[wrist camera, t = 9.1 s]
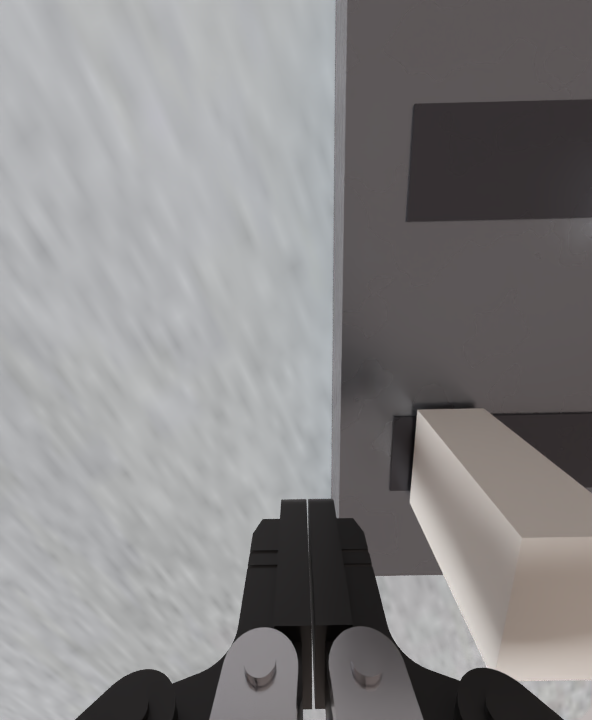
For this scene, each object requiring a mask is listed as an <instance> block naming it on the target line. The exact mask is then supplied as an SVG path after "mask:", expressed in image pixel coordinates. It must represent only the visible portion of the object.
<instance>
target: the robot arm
mask: <svg viewBox="0 0 592 720" xmlns="http://www.w3.org/2000/svg"><path fill="white" fill-rule="evenodd" d="M308 538H309V552H308ZM309 575H310V576H309ZM311 622H312V623H311ZM312 646H313V670H314V693H315V709H325V710H326V720H563V719H562V718H561V717H560V716H559V715H557V714H556V713H555V712H554V711H553V710H551V709H550V708H549V707H548V706H547V705H545V704H544V703H543V702H542V701H541V700H539V699H538V698H537V697H536V696H535V695H533V694H532V693H531V692H530V691H529V690H527V689H526V688H525V687H524V686H523V685H521V684H520V683H519V682H517V681H516V680H515V679H513V678H512V677H510V676H508V675H507V674H504V673H502V672H500V671H497V670H494V669H490V668H476V669H473V670H470V671H469V672H467V673H466V674H465V675H464V676H463V677H462V679H461V681H459V680H456V679H453V678H450V677H447V676H445V675H442V674H439V673H436V672H433V671H431V670H428V669H426V668H424V667H422V666H420V665H418V664H417V663H415V662H414V661H412V660H411V659H410V658H408V657H407V656H406V655H405V654H404V653H403V652H402V651H401V650H400V648H399V647H398V646H397V645H396V643H395V641H394V640H393V638H392V636H391V634H390V632H389V629H388V626H387V622H386V618H385V614H384V610H383V606H382V602H381V598H380V594H379V590H378V586H377V582H376V578H375V574H374V570H373V567H372V562H371V558H370V554H369V552H368V546H367V542H366V538H365V534H364V531H363V530H362V529H361V528H360V526H359V525H358V524H357V522H356V521H355V520H354V519H353V518H336V511H335V505H334V500H333V499H308V528H307V504H306V499H289V500H281V514H280V519H263V520H262V521H261V523H260V524H259V526H258V527H257V528H256V530H255V531H254V533H253V537H252V543H251V550H250V556H249V562H248V569H247V575H246V581H245V588H244V594H243V600H242V606H241V613H240V619H239V625H238V630H237V634H236V637H235V639H234V642H233V643H232V645H231V647H230V649H229V650H228V651H227V653H226V654H225V655H224V656H223V657H222V658H221V659H220V660H219V661H218V662H217V663H216V664H215V665H213V666H212V667H210V668H209V669H207V670H205V671H203V672H201V673H198V674H196V675H193V676H191V677H188V678H186V679H183V680H181V681H178V682H176V683H173V684H172V683H171V681H170V680H169V678H168V677H167V676H166V675H165V674H163V673H161V672H160V671H157V670H151V669H145V670H139V671H136V672H133V673H131V674H129V675H127V676H125V677H123V678H122V679H120V680H119V681H117V682H116V683H115V684H114V685H112V686H111V687H110V688H109V689H108V690H107V691H106V692H105V693H104V694H103V695H101V696H100V697H99V698H98V699H97V700H96V701H95V702H94V703H93V704H92V705H91V706H90V707H88V708H87V709H86V710H85V711H84V712H83V713H82V714H81V715H80V716H79V717H78V718H77V719H75V720H303V709H312Z"/></svg>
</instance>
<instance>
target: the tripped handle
mask: <svg viewBox="0 0 592 720" xmlns="http://www.w3.org/2000/svg"><path fill="white" fill-rule="evenodd" d="M410 505H411V507H412V509H413V511H414V513H415V515H416V517H417V520H418V522H419V524H420V526H421V528H422V530H423V532H424V534H425V537H426V539H427V541H428V543H429V545H430V547H431V549H432V551H433V554H434V556H435V558H436V560H437V562H438V564H439V566H440V569H441V571H442V573H443V575H444V577H445V579H446V581H447V583H448V586H449V588H450V590H451V592H452V594H453V596H454V598H455V601H456V603H457V605H458V607H459V609H460V611H461V613H462V615H463V618H464V620H465V622H466V624H467V626H468V628H469V630H470V632H471V635H472V637H473V639H474V641H475V643H476V645H477V647H478V650H479V652H480V654H481V656H482V658H483V660H484V662H485V664H486V667H487V668H490V669H494V670H497V671H500V672H502V673H504V674H507V675H508V676H510V677H512V678H513V679H515V680H516V681H556V680H592V493H591V492H589V491H588V490H587V489H586V488H584V487H583V486H582V485H581V484H579V483H578V482H577V481H576V480H574V479H573V478H572V477H570V476H569V475H568V474H567V473H565V472H564V471H563V470H562V469H560V468H559V467H558V466H556V465H555V464H554V463H553V462H551V461H550V460H549V459H548V458H546V457H545V456H544V455H542V454H541V453H540V452H539V451H537V450H536V449H535V448H534V447H532V446H531V445H530V444H528V443H527V442H526V441H525V440H523V439H522V438H521V437H520V436H518V435H517V434H516V433H514V432H513V431H512V430H511V429H509V428H508V427H507V426H506V425H504V424H503V423H502V422H501V421H499V420H498V419H497V418H495V417H494V416H493V415H492V414H490V413H489V412H488V411H487V410H485V409H484V408H473V409H421V410H417V420H416V432H415V444H414V456H413V468H412V480H411V492H410Z"/></svg>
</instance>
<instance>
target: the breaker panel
mask: <svg viewBox="0 0 592 720" xmlns="http://www.w3.org/2000/svg"><path fill="white" fill-rule="evenodd" d="M473 408H484V409H485V410H487V411H488V412H489V413H490V414H492V415H493V416H494V417H495V418H497V419H498V420H499V421H501V422H502V423H503V424H504V425H506V426H507V427H508V428H509V429H511V430H512V431H513V432H514V433H516V434H517V435H518V436H520V437H521V438H522V439H523V440H525V441H526V442H527V443H528V444H530V445H531V446H532V447H534V448H535V449H536V450H537V451H539V452H540V453H541V454H542V455H544V456H545V457H546V458H548V459H549V460H550V461H551V462H553V463H554V464H555V465H556V466H558V467H559V468H560V469H562V470H563V471H564V472H565V473H567V474H568V475H569V476H570V477H572V478H573V479H574V480H576V481H577V482H578V483H579V484H581V485H582V486H583V487H584V488H586V489H587V490H588V491H589V492H591V493H592V0H336V44H335V155H334V266H333V377H332V488H331V499H333V500H334V505H335V511H336V518H353V519H354V520H355V521H356V522H357V524H358V525H359V526H360V528H361V529H362V530H363V531H364V534H365V538H366V542H367V546H368V552H369V554H370V558H371V562H372V567H373V570H374V574H375V576H396V575H443V573H442V571H441V569H440V566H439V564H438V562H437V560H436V558H435V556H434V554H433V551H432V549H431V547H430V545H429V543H428V541H427V539H426V537H425V534H424V532H423V530H422V528H421V526H420V524H419V522H418V520H417V517H416V515H415V513H414V511H413V509H412V507H411V505H410V492H411V480H412V468H413V456H414V444H415V432H416V420H417V410H421V409H473Z"/></svg>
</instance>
